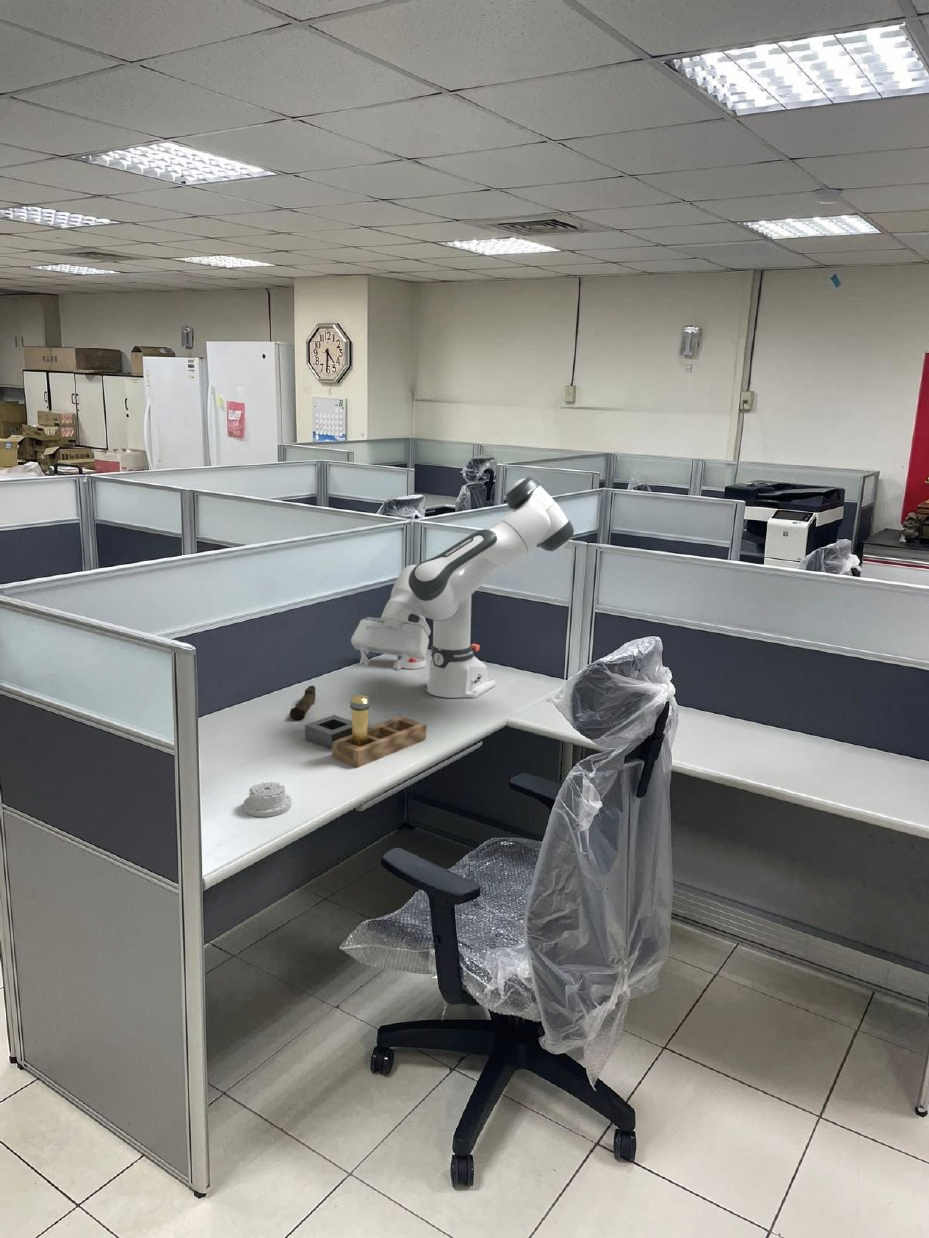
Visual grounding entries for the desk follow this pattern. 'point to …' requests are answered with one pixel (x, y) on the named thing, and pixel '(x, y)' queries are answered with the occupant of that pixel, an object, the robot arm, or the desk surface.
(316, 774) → the desk surface
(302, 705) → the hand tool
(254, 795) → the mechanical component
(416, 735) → the wooden compartment tray
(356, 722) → the gold capped cylinder
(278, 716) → the desk surface
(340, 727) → the socket block
